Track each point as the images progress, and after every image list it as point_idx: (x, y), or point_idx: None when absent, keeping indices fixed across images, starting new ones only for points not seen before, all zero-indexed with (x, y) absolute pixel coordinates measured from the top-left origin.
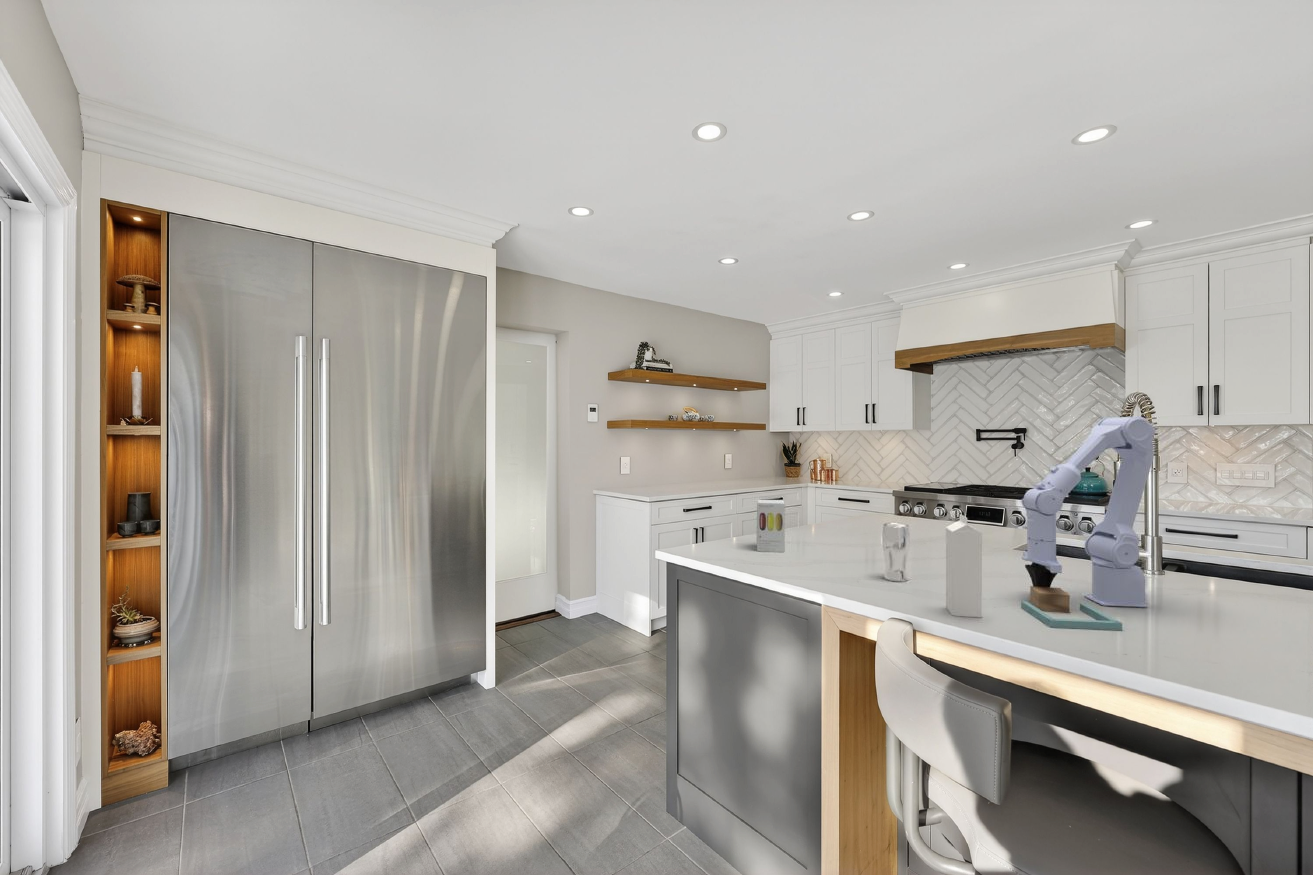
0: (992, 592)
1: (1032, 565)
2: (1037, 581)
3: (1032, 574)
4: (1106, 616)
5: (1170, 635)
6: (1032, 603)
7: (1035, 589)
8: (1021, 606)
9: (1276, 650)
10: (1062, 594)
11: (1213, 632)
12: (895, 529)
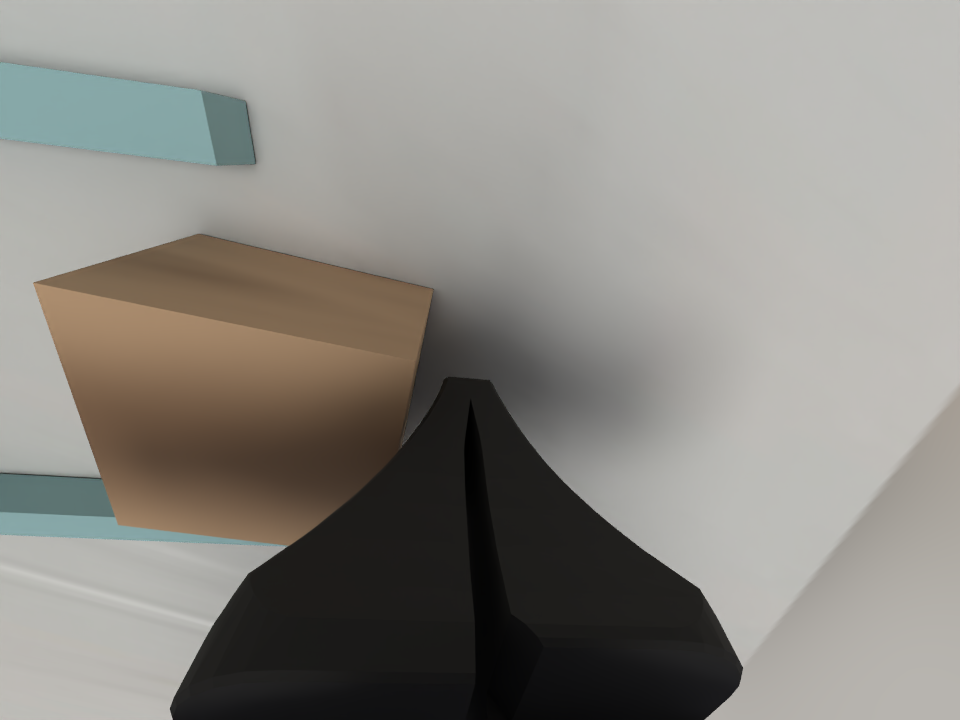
0: (801, 100)
1: (629, 716)
2: (387, 466)
3: (447, 515)
4: (14, 523)
5: (3, 602)
6: (373, 278)
7: (245, 337)
8: (229, 97)
9: (15, 715)
10: (108, 486)
11: (142, 689)
12: None
